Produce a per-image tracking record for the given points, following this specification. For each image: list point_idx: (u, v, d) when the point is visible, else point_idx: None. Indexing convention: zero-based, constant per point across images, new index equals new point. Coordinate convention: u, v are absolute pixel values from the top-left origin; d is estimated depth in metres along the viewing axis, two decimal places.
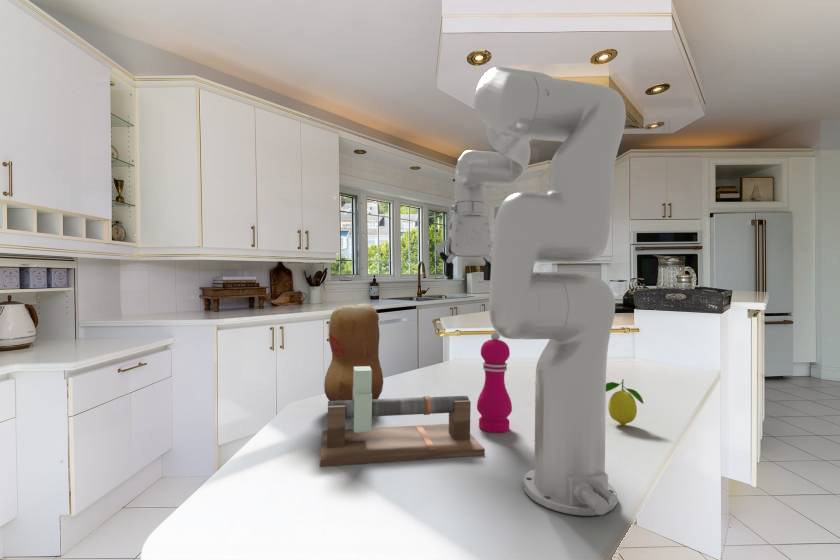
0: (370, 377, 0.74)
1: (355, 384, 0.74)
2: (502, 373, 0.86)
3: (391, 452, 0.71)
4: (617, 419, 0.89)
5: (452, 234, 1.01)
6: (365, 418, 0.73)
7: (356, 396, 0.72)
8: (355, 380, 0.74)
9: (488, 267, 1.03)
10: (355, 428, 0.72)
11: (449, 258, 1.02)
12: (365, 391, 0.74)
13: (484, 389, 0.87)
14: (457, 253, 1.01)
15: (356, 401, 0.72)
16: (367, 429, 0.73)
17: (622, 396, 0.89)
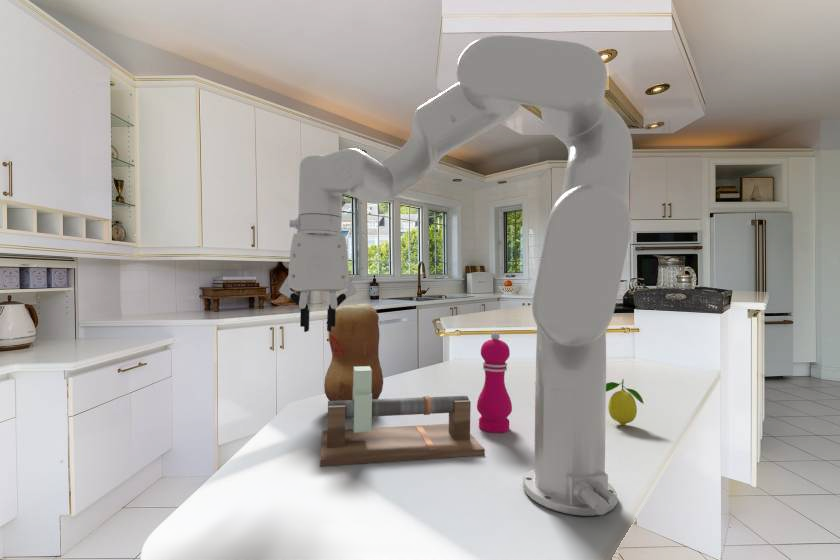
0: (370, 377, 0.74)
1: (355, 384, 0.74)
2: (502, 373, 0.86)
3: (391, 452, 0.71)
4: (617, 419, 0.89)
5: (289, 261, 0.72)
6: (365, 418, 0.73)
7: (356, 396, 0.72)
8: (355, 380, 0.74)
9: (328, 313, 0.73)
10: (355, 428, 0.72)
11: (301, 302, 0.72)
12: (365, 391, 0.74)
13: (484, 389, 0.87)
14: (295, 288, 0.71)
15: (356, 401, 0.72)
16: (367, 429, 0.73)
17: (622, 396, 0.89)
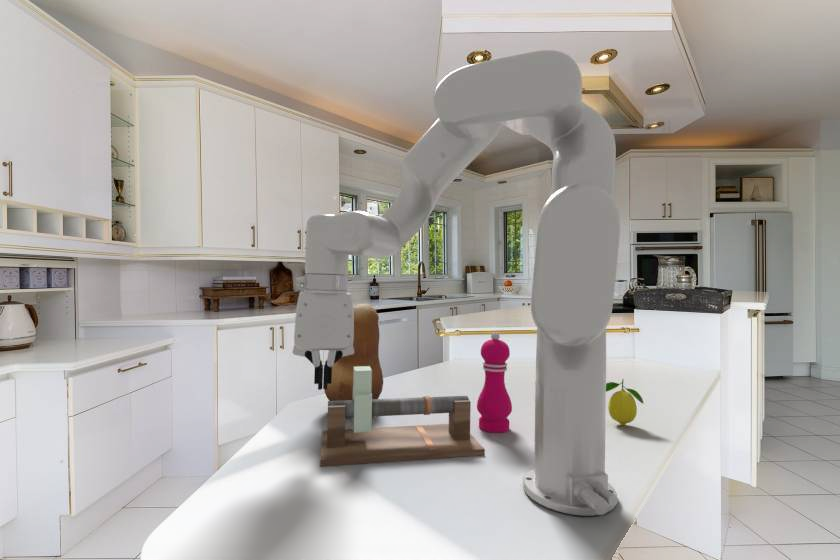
0: (370, 377, 0.74)
1: (355, 384, 0.74)
2: (502, 373, 0.86)
3: (391, 452, 0.71)
4: (617, 419, 0.89)
5: (295, 320, 0.72)
6: (365, 418, 0.73)
7: (356, 396, 0.72)
8: (355, 380, 0.74)
9: (324, 371, 0.73)
10: (355, 428, 0.72)
11: (314, 360, 0.73)
12: (365, 391, 0.74)
13: (484, 389, 0.87)
14: (301, 347, 0.71)
15: (356, 401, 0.72)
16: (367, 429, 0.73)
17: (622, 396, 0.89)
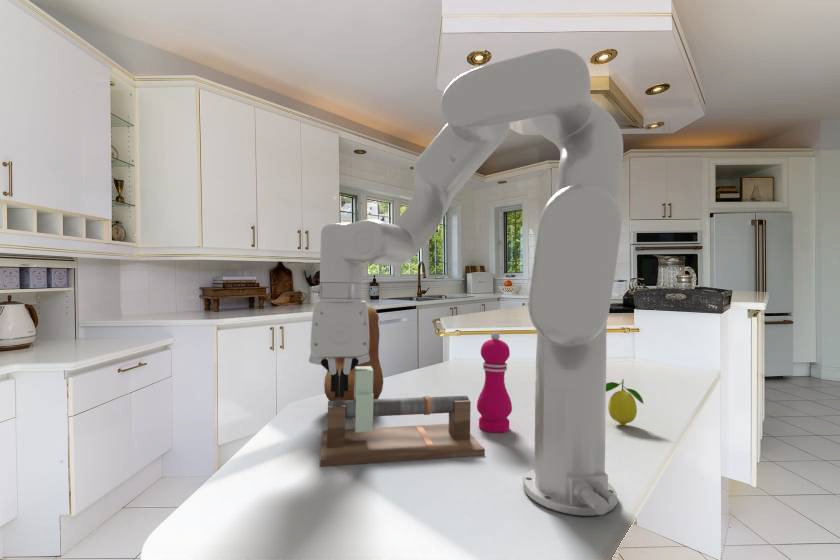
0: (371, 377, 0.74)
1: (356, 384, 0.74)
2: (502, 373, 0.86)
3: (391, 452, 0.71)
4: (617, 419, 0.89)
5: (311, 328, 0.72)
6: (366, 418, 0.73)
7: (358, 396, 0.72)
8: (356, 380, 0.74)
9: (341, 379, 0.73)
10: (357, 428, 0.72)
11: (331, 369, 0.73)
12: (367, 390, 0.74)
13: (484, 389, 0.87)
14: (317, 356, 0.72)
15: (358, 401, 0.72)
16: (368, 429, 0.73)
17: (622, 396, 0.89)
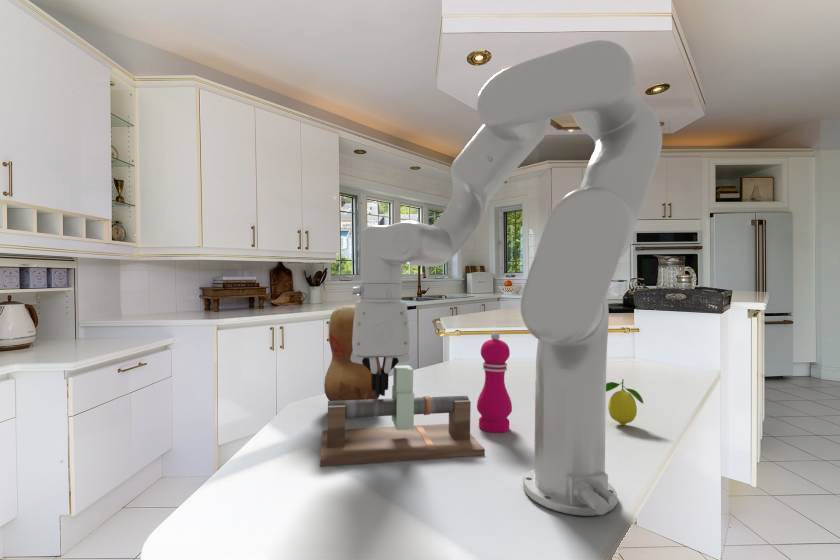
0: (411, 376, 0.76)
1: (397, 383, 0.75)
2: (502, 373, 0.86)
3: (391, 452, 0.71)
4: (617, 419, 0.89)
5: (354, 328, 0.74)
6: (407, 416, 0.74)
7: (399, 394, 0.74)
8: (397, 379, 0.75)
9: (382, 378, 0.75)
10: (398, 426, 0.74)
11: (372, 368, 0.75)
12: (407, 389, 0.76)
13: (484, 389, 0.87)
14: (360, 355, 0.73)
15: (399, 399, 0.74)
16: (409, 427, 0.74)
17: (622, 396, 0.89)
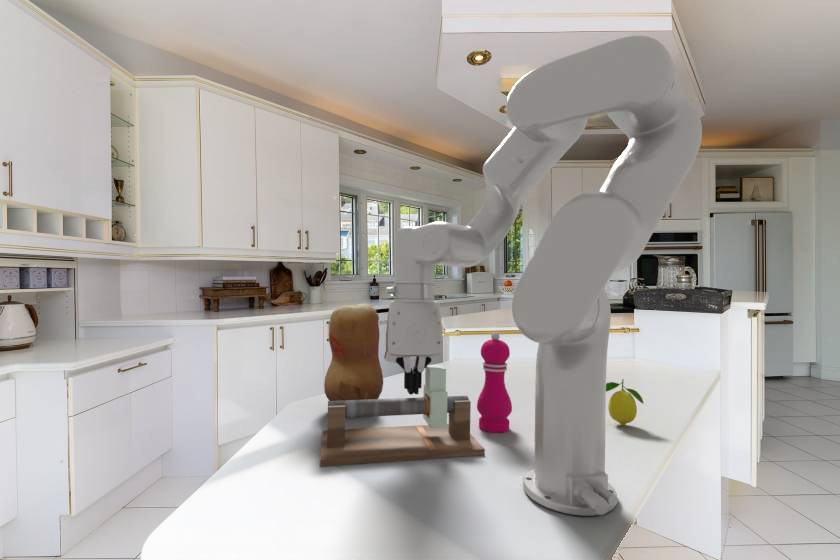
0: (444, 375, 0.77)
1: (430, 382, 0.76)
2: (502, 373, 0.86)
3: (391, 452, 0.71)
4: (617, 419, 0.89)
5: (388, 328, 0.75)
6: (441, 414, 0.76)
7: (433, 393, 0.75)
8: (430, 378, 0.76)
9: (416, 376, 0.76)
10: (432, 424, 0.75)
11: (406, 366, 0.76)
12: (440, 388, 0.77)
13: (484, 389, 0.87)
14: (395, 354, 0.74)
15: (433, 398, 0.75)
16: (443, 425, 0.76)
17: (622, 396, 0.89)
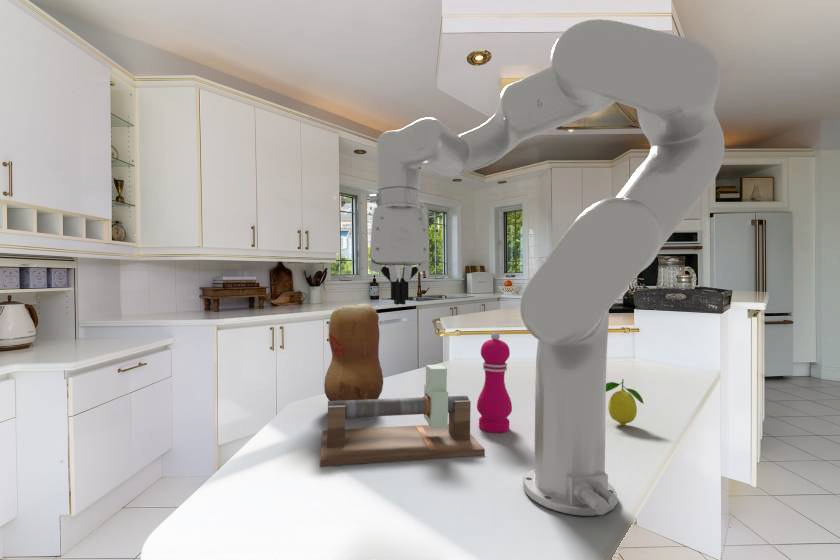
0: (445, 375, 0.77)
1: (431, 382, 0.76)
2: (502, 373, 0.86)
3: (391, 452, 0.71)
4: (617, 419, 0.89)
5: (372, 234, 0.72)
6: (442, 414, 0.76)
7: (433, 393, 0.75)
8: (431, 378, 0.77)
9: (402, 285, 0.73)
10: (433, 424, 0.75)
11: (392, 275, 0.73)
12: (441, 388, 0.77)
13: (484, 389, 0.87)
14: (379, 261, 0.72)
15: (433, 398, 0.75)
16: (443, 425, 0.76)
17: (622, 396, 0.89)
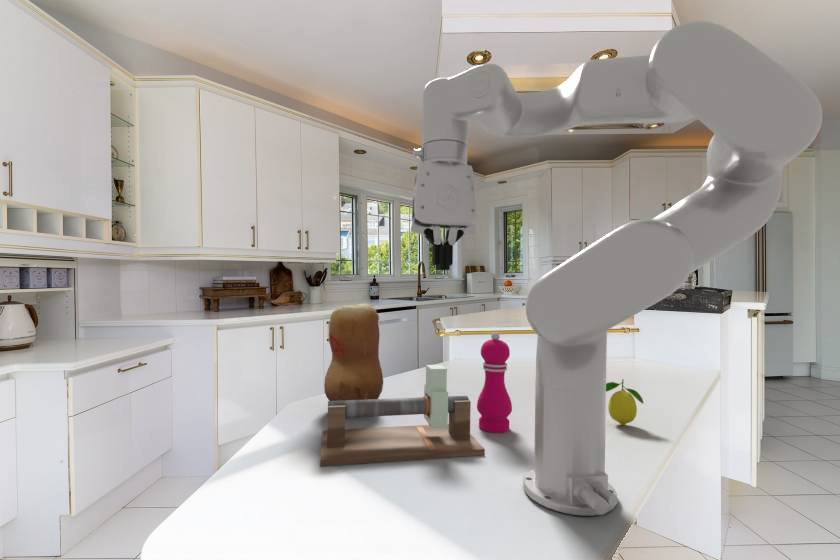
0: (445, 375, 0.77)
1: (431, 382, 0.76)
2: (502, 373, 0.86)
3: (391, 452, 0.71)
4: (617, 419, 0.89)
5: (416, 191, 0.66)
6: (442, 414, 0.76)
7: (433, 393, 0.75)
8: (431, 378, 0.77)
9: (447, 249, 0.67)
10: (433, 424, 0.75)
11: (436, 238, 0.67)
12: (441, 388, 0.77)
13: (484, 389, 0.87)
14: (424, 220, 0.66)
15: (433, 398, 0.75)
16: (443, 425, 0.76)
17: (622, 396, 0.89)
